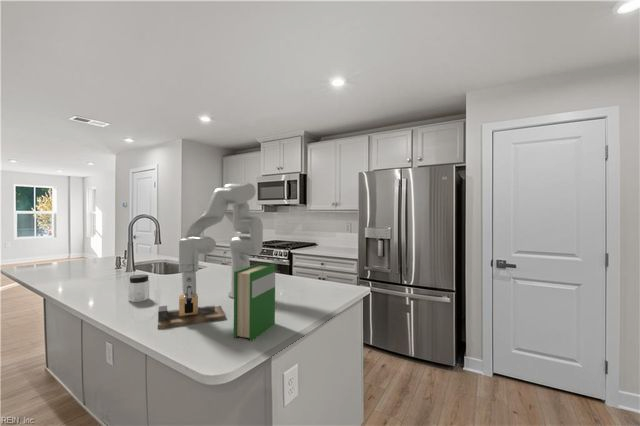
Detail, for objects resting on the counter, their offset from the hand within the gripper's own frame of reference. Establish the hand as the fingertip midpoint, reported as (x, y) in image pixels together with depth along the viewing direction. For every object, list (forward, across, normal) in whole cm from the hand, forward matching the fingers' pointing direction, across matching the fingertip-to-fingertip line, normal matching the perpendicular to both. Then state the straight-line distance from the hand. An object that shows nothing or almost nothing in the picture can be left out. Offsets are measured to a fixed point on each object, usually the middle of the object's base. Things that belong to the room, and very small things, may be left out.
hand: (188, 310), depth 126 cm
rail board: (+4, 0, -1) cm, 4 cm away
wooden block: (+1, 0, 0) cm, 1 cm away
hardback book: (+4, -24, -23) cm, 33 cm away
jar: (+4, +38, +21) cm, 44 cm away
